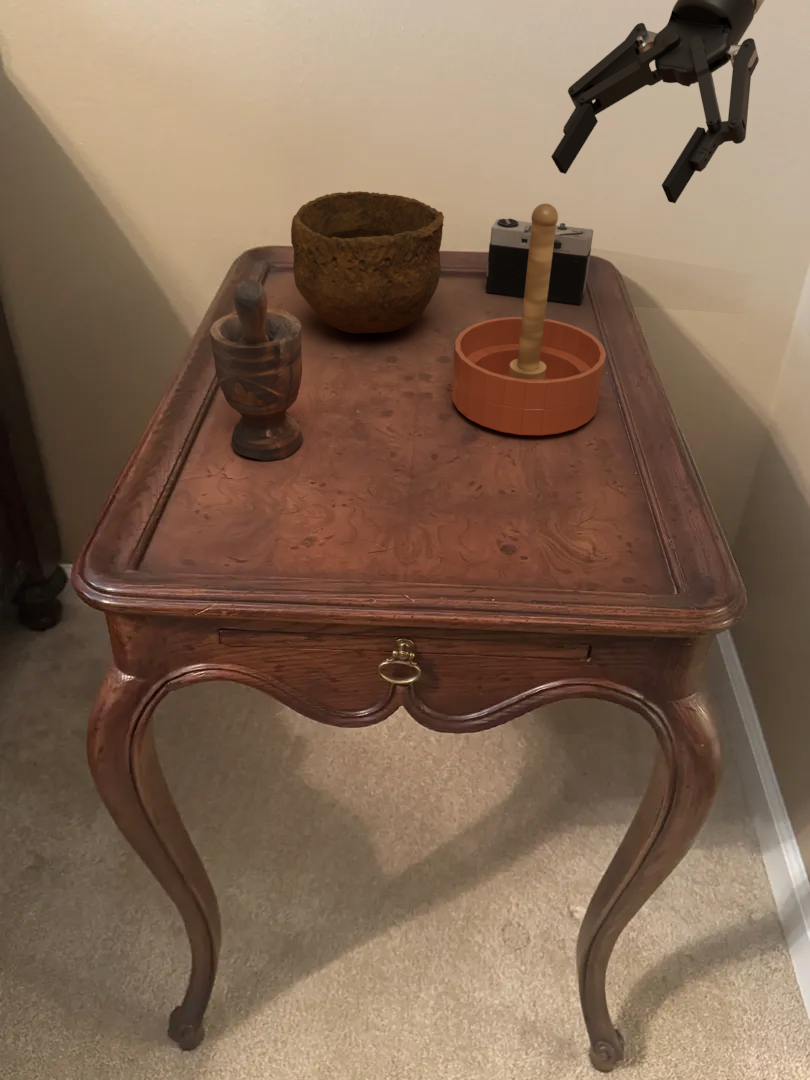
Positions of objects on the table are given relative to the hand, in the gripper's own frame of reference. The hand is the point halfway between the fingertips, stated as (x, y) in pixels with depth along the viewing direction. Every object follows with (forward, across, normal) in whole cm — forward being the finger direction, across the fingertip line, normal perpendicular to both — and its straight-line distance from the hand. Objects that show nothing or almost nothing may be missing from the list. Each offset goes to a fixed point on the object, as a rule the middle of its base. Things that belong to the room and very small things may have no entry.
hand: (610, 179), depth 90 cm
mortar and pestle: (+42, +12, +9) cm, 45 cm away
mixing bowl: (+23, +1, -10) cm, 25 cm away
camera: (+3, +22, -30) cm, 37 cm away
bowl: (+22, +28, -11) cm, 37 cm away
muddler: (+22, +1, -10) cm, 24 cm away
